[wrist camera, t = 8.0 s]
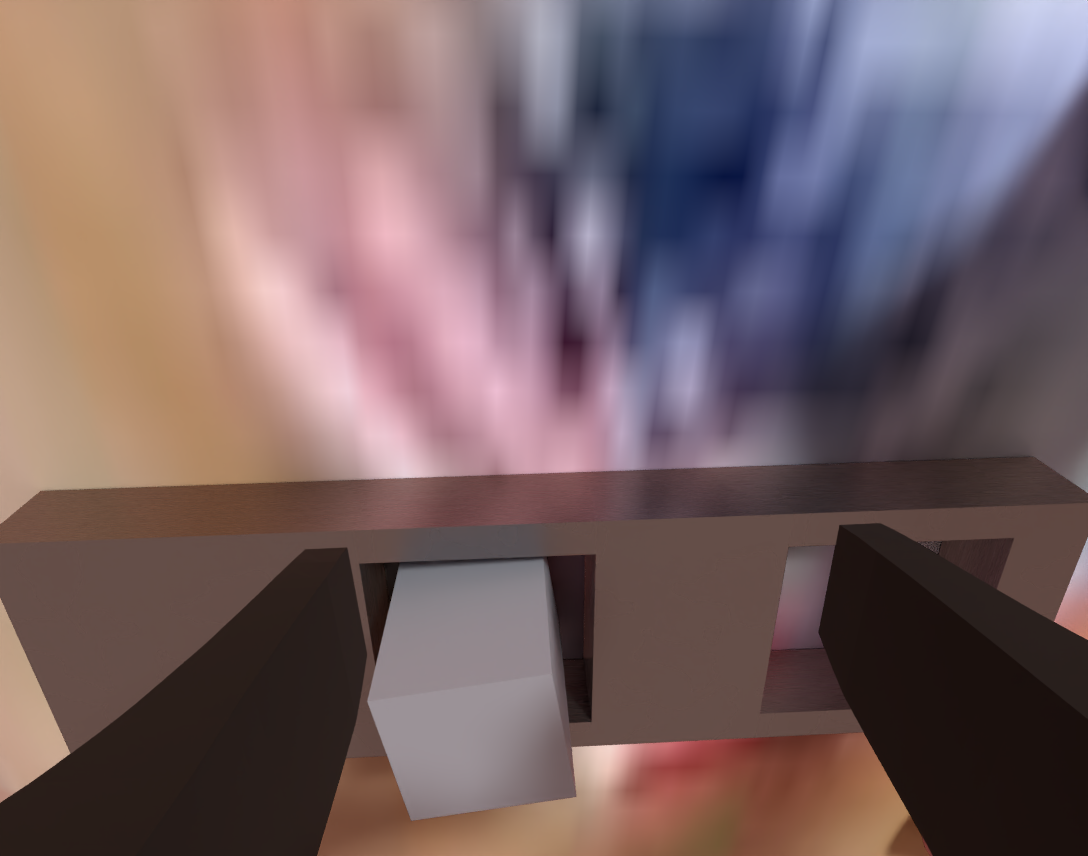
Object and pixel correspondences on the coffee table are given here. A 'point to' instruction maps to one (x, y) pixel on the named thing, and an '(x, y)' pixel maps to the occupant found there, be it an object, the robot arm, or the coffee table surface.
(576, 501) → the rail
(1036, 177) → the coffee table surface
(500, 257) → the coffee table surface
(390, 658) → the peg
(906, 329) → the coffee table surface
